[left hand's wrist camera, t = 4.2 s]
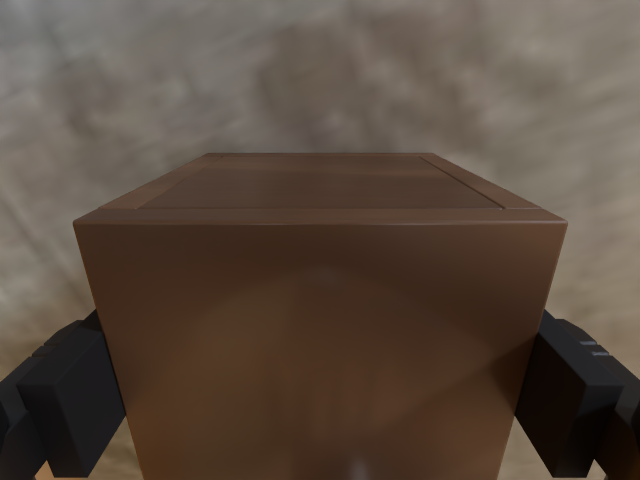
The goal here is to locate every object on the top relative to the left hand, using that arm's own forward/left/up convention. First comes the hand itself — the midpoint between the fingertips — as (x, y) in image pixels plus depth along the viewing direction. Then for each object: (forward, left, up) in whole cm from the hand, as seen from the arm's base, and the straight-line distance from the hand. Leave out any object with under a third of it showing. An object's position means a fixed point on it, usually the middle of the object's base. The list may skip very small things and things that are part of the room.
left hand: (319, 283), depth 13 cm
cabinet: (+4, 0, -5) cm, 6 cm away
